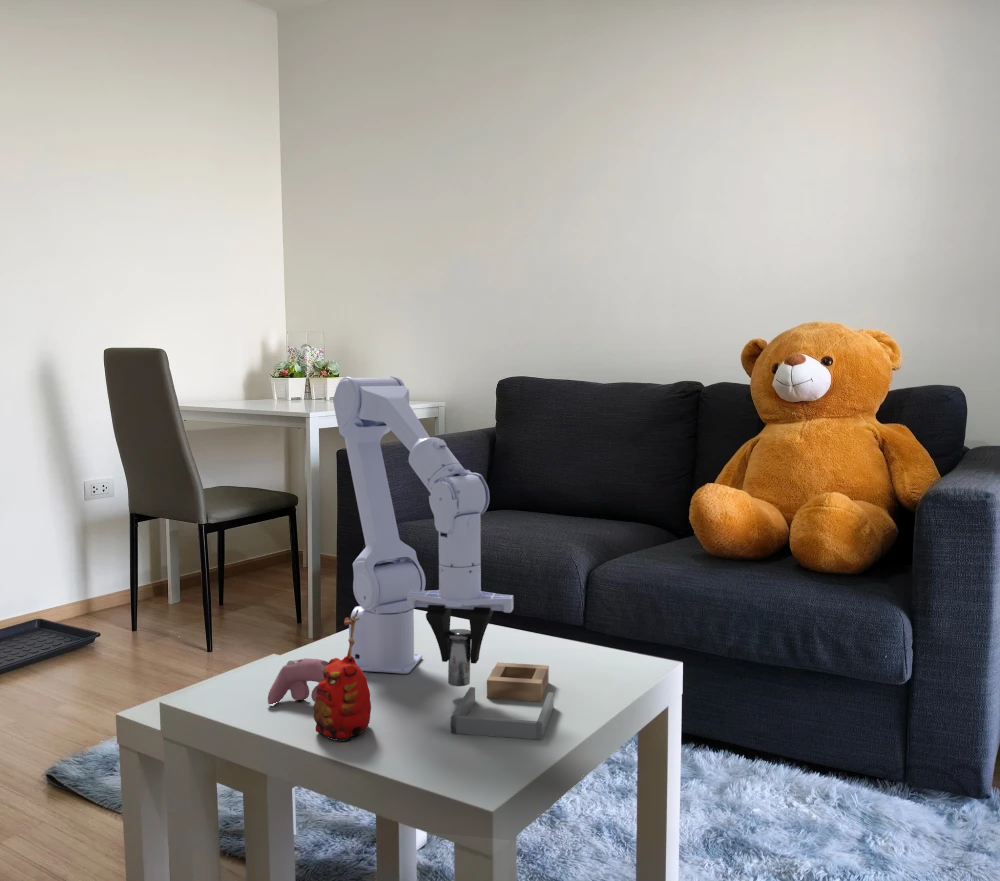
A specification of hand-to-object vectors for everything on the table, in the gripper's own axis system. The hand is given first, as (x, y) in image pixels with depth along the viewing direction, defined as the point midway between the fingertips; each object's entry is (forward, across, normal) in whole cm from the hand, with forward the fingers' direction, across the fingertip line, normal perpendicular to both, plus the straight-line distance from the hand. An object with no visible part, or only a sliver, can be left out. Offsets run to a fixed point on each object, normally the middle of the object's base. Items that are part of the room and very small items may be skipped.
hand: (460, 660), depth 124 cm
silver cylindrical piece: (+3, 0, 0) cm, 3 cm away
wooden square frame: (+5, +8, +4) cm, 10 cm away
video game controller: (+5, -20, -6) cm, 21 cm away
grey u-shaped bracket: (+5, +7, -7) cm, 11 cm away
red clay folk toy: (+5, -12, -14) cm, 19 cm away
